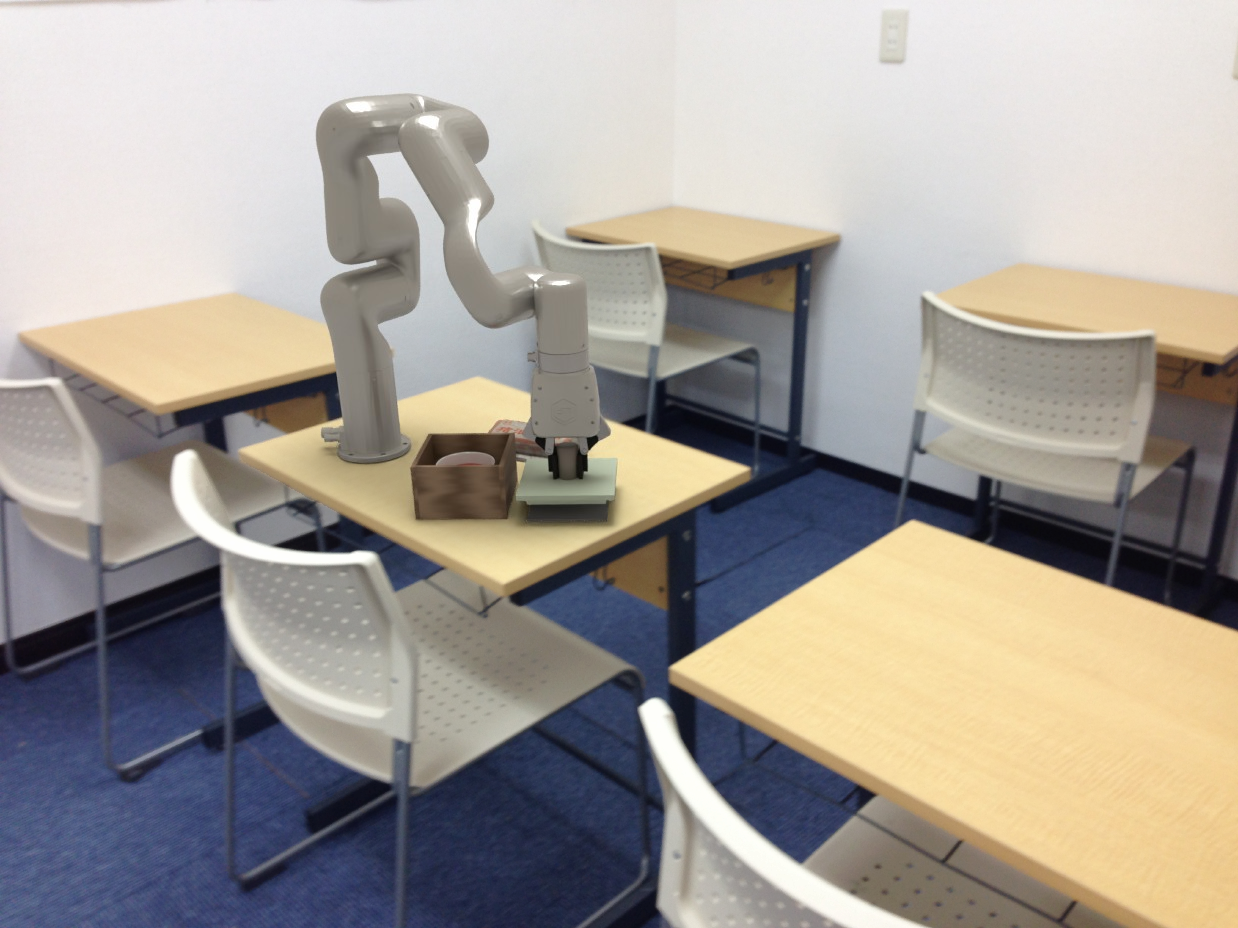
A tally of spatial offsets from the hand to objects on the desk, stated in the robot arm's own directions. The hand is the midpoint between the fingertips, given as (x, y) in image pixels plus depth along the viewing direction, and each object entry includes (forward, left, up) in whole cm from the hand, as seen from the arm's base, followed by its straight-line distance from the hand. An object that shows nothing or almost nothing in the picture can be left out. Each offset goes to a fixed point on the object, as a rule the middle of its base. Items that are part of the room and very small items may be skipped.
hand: (568, 474), depth 158 cm
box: (-16, +2, -5) cm, 17 cm away
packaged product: (-8, +22, -6) cm, 24 cm away
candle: (-16, +2, -5) cm, 17 cm away
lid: (0, 0, -2) cm, 2 cm away
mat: (0, 0, -5) cm, 5 cm away
